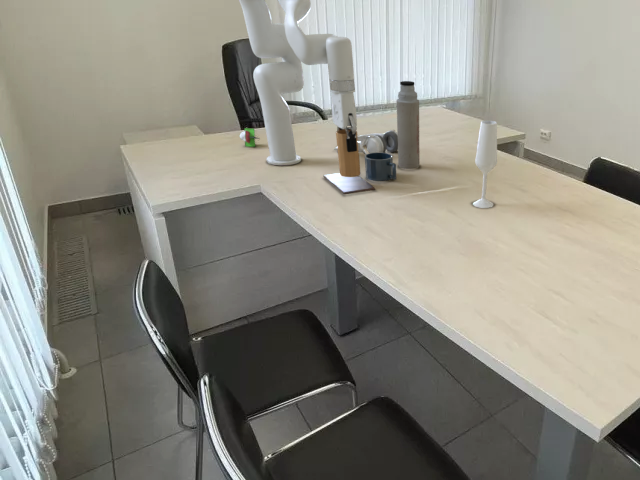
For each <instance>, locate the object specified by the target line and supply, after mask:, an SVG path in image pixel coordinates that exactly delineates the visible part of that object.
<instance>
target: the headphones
mask: <svg viewBox="0 0 640 480" xmlns="http://www.w3.org/2000/svg"><path fill="white" fill-rule="evenodd" d="M357 136H358V149H359V154H360V153H363V154H364V156H365V155H366V154H369V153H375V152H383V153H386V151H387V152H388V153H394V152H398V135H397V131H396V130H395V129H390V130H388V131H385V132H384V133H383V132H376V133H375V132H374V133H366V134H361V135H357ZM364 146H366V150H365V148H364ZM333 151H338V149H337V145H336V146H335V147H334V148H333ZM366 151H367V152H366Z"/></svg>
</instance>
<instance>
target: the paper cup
mask: <svg viewBox="0 0 640 480" xmlns="http://www.w3.org/2000/svg"><path fill="white" fill-rule="evenodd" d="M348 131H349V132H350V130H348ZM358 136H359V135H358V131H357V130H356V143H357V151H355V152H348V151H347V144H346V138H347V135H346V130H338V131H337V130H336V131H335V138H336V146H337V149H338V150H337V159H338V169H339V173H340V175H341V176H344V177H356V176H361V162H360V153H359V149H358Z"/></svg>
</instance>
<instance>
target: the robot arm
mask: <svg viewBox="0 0 640 480" xmlns="http://www.w3.org/2000/svg"><path fill="white" fill-rule="evenodd" d="M238 2H239V4H240V7H241V10H242V13H243V18H244V23H245V27H246V31H247V32H246V33H247V35H248V39H249V44H250V47H251V51H252V53H253V55H255V56H256V57H257V58H259V59H275V58H281V60H282V61H278V62H277V61H275V62H266V63H261V64H258V65H257V66H256V67H255V68H254V70H253V74H252V76H253V77H252V78H253V82H254V85H255V88H256V91H257V94H258V98H259V101H260V106H261V110H262V112H261V113H262V116H263V117H262V118H263V123H264V128H265V134H266V140H267V146H268V151H269V155H268V156H267V157H266V162H267V164H269V165H273V166H291V165H296V164H299V163H300V162H301V161H302V157H301V155H299V154H297V150H296V143H295V136H294V130H293V123H292V117H291V116H292V115H291V110H290V107H289V105H288V103H287V102H286V100H285V99H284V98H283V96H282V95H285V94H293V93H297V92H298V93H299V92H300V91H302V90H303V88H304V86H305V76H304V69H303V64H304V65H306V66H314V65H315V66H316V65H326V64H327V70H328V71H327V72H328V80H329V91H330V93H331V94H330V95H331V97H330V99H331V102H330V103H331V116H332V123H333V124H334V125H335V126H336V131H338V130H346V135H347V138H346V144H347V151H348V152H355V151H357V143H356V131H357V129H358V120H357V119H358V118H357V108H356V101H355V94H354V93H355V92H356V85H355V83H356V82H355V72H354V59H353V58H354V57H353V46H352V41H351V40H350V38H348V37H345V36H338V35H336V34H334V33H314V34H311V33H310V34H305V32H304V31H303V29H302V28H301V27H300V25H299V23H300V22H301V21H302V20H303V19H304V18H306V17H307V15H308V14H309V12H310V10H311V6H312V2H311V0H277V2H278V4H279V5H280V8H281V9H282V10H283V12H284V13H285V15H284V22H283V23H273V20H272V15H271V11H270V10H271V9H270V7H269V5H268V2H267V1H266V0H238ZM348 130H350V132H349V131H348Z"/></svg>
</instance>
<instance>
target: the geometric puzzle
mask: <svg viewBox="0 0 640 480" xmlns="http://www.w3.org/2000/svg"><path fill="white" fill-rule="evenodd" d="M255 133H256V130H255V128H249V127H244V128H243V130H242V131H241V132H240V134H239V138H240V140H241V141H243V142H244V146H245V147H248V148H250V147H251V148H256V146H257V144H258V143H256V140H261V138H260V137H257V135H258V136H259V134H258V133H256V134H255Z"/></svg>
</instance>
